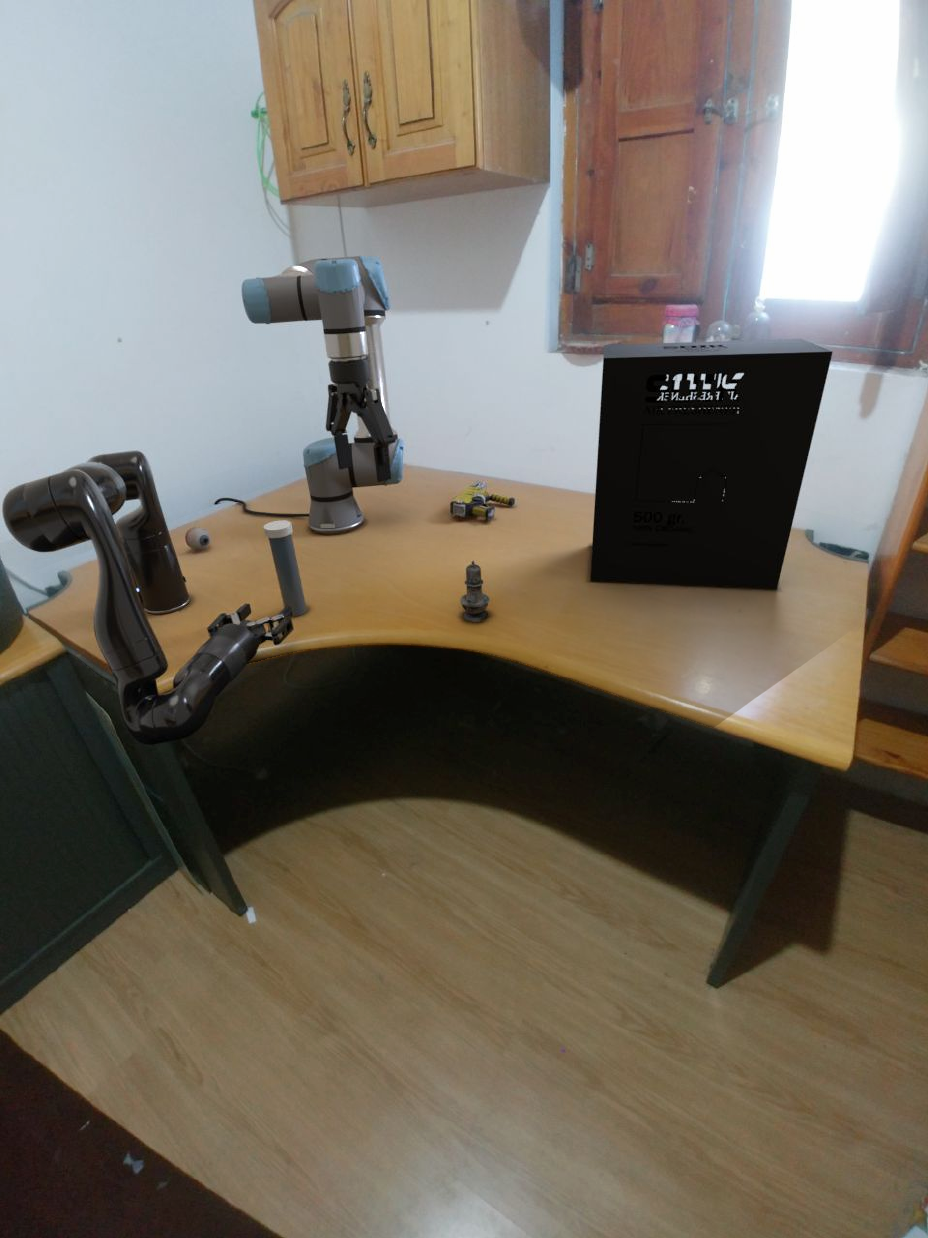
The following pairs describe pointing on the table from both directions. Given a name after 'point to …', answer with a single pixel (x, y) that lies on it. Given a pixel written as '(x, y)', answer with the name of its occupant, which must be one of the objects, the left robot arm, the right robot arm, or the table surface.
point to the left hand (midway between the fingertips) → (269, 608)
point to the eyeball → (197, 538)
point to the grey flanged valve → (474, 595)
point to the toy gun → (477, 502)
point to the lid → (278, 529)
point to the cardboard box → (703, 460)
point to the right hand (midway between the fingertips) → (364, 473)
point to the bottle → (288, 574)
